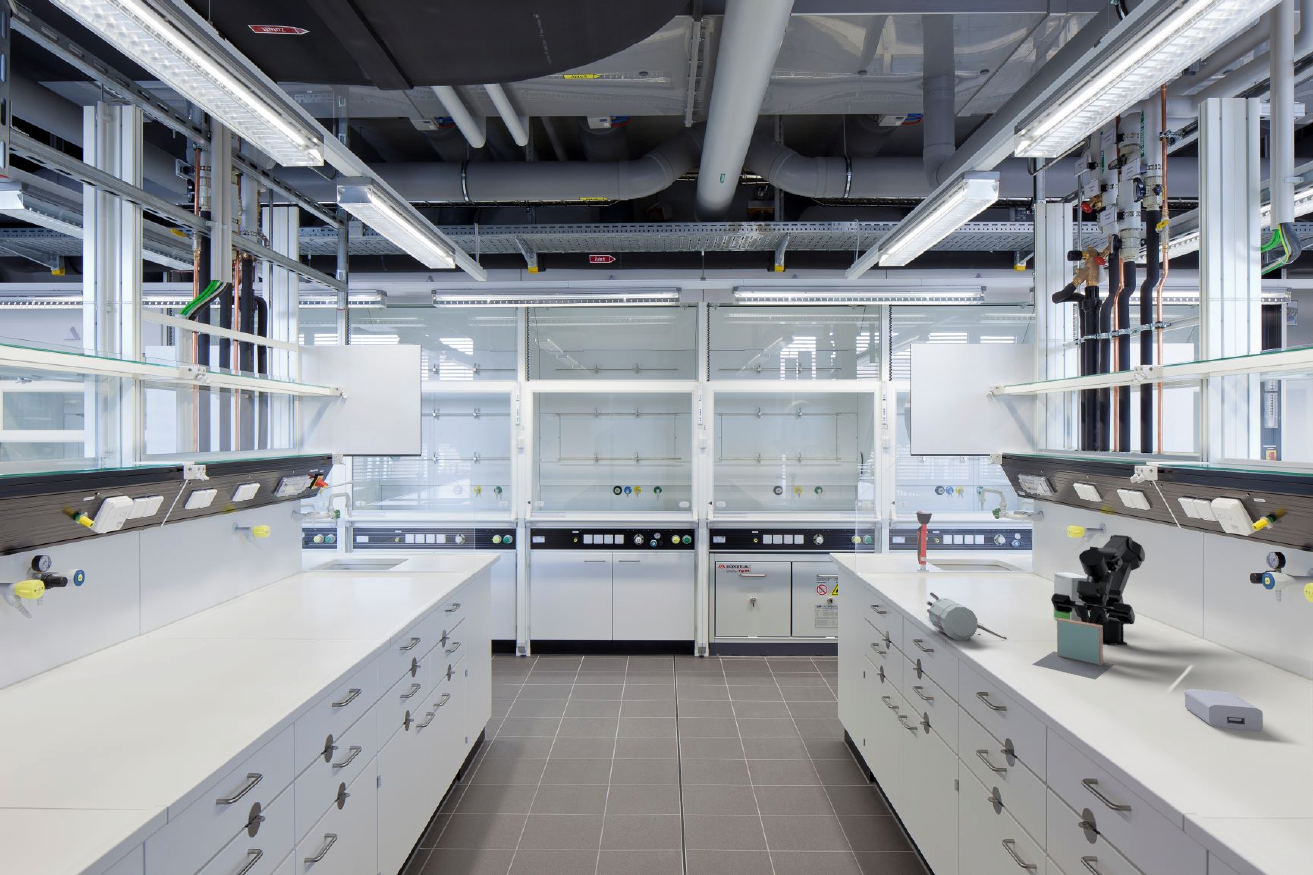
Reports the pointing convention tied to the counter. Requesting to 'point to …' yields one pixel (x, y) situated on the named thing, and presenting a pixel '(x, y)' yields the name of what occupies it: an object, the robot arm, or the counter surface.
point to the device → (952, 618)
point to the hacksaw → (990, 632)
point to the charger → (1223, 709)
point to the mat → (1072, 666)
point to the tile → (1080, 641)
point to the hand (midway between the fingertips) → (1085, 633)
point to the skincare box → (1067, 592)
